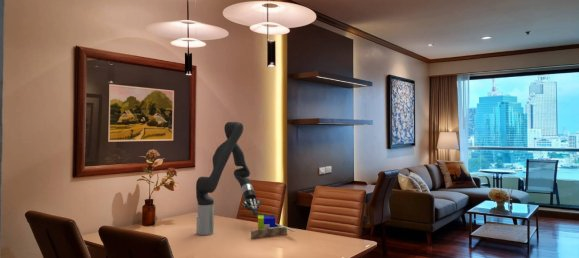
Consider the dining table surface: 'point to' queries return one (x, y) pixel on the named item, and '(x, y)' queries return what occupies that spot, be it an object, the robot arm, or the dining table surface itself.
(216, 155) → the robot arm
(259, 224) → the puzzle toy
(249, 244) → the dining table surface
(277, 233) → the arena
